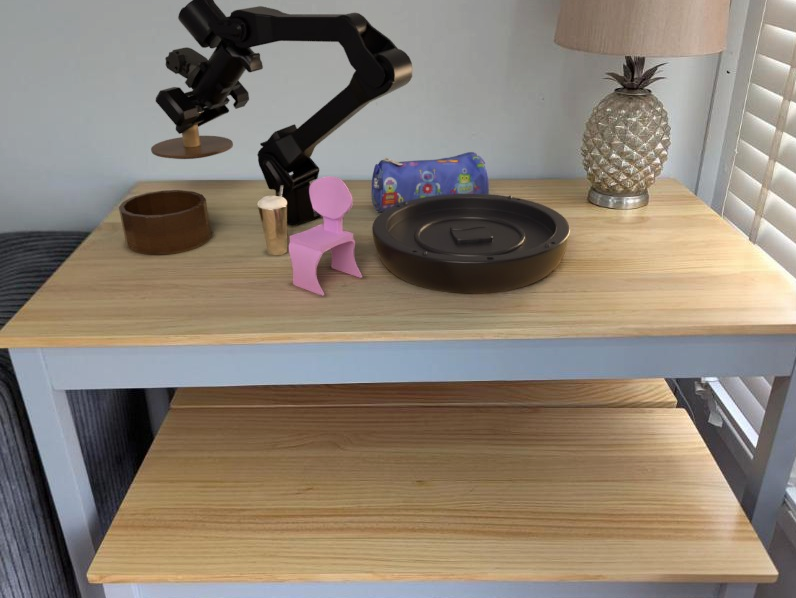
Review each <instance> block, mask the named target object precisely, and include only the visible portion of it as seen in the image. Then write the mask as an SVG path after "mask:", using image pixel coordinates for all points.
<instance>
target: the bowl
mask: <svg viewBox="0 0 796 598" xmlns="http://www.w3.org/2000/svg"><path fill="white" fill-rule="evenodd" d="M118 212H119V215H120V221H121V224H122V225H121V226H122V231H123V234H124V235H123V236H124V239H125V243H126V246H127V248H128V249H129V250H130V251H132V252H134V253H136V254H142V255H148V256H165V255H174V254H179V253H185V252H188V251H192V250H194V249H195V250H196V249H197V248H199V247H201V246H204V245H205V244H206V243H208V242H209V241H210V239H211V234H212V232H211V231H212V229H211V224H210V217H209V209H208V203H207V198H206V197H205V196H204V195H203V193H200V192H196V191H191V190H182V189H171V190H170V189H169V190H167V189H166V190H156V191H150V192H146V193H145V192H144V193H142V194H139V195H135V196H132V197H129V198H128V199H126V200H124V201H123V202H121V204H120V205H119V206H118Z"/></svg>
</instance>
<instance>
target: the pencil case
mask: <svg viewBox="0 0 796 598" xmlns="http://www.w3.org/2000/svg"><path fill="white" fill-rule="evenodd" d="M446 194H490V181H489V174H488V170H487V167H486V162H485V160H484V158H482V156H480V155H478V154H477V153H476V152H474V151H469V152H465V153H461V154H458V155H454V156H449V157H442V158H438V159H421V160H419V159H418V160H407V161H396V160H393V159H390V158H388V157H384V158H383V159H381V160H379V162H378V163H376V164H375V165H374V168H373V172H372V176H371V201H372V205H373V209H374V210H376V211H377V212H378V213H382V212H384V211H385V210H387V209H389V208H391V207H393V206H395V205H398V204H400V203H403V202H406V201H410V200H414V199H418V198H423V197H429V196H436V195H446Z"/></svg>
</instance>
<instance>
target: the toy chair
mask: <svg viewBox="0 0 796 598" xmlns="http://www.w3.org/2000/svg"><path fill="white" fill-rule="evenodd" d="M348 187H349V186H347V185H346V183H345V182H344V180H342V179H341V178H339V177H337V176H329V175H328V176H327V175H326V176H323V177H318V178H317V179H316V180H313V181H311V182H310V188H309V194H310V199H311V203H312V207H313V209H314V212H317V213H319V214H320V215H321V217H322V219H323V223H321V224H318V225H315V226H313V227H311V228H309V229H306V230H304V231H301V232H297V233H294V234H291V235H289V243H288V252H289V253H288V254H289V256H290V261H291V267H292V285H293V286H295V287H297V288H300V289H303V290H306V291H309V292H312V293H314V294H316V295H319V296H325V292H324V291H323V289H322V287H321V285H320V282H319V280H318V277H317V268H318V265H319V262H320V260H321V257H322V255H323V254H324V253H325V252H327V251H329V250H330V252H331V269H334V270H336V271H338V272H342V273H345V274H347V275H351V276H354V277H357V278H360V279H362V278H364V277H363V274H362V273H361V271H360V269H359V266H358V265H357V262H356V258H355V257H356V256H355V249H356V241H355V239H354V233H353V232H350V231H346V230H343V225H344V224H343V222H344V220H343V219H344V216H345V215H347V213H349V212H350V211H351V209H352V208H353V203H354V201H353V195H352V193H351V190H350V189H349V188H348Z"/></svg>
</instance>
